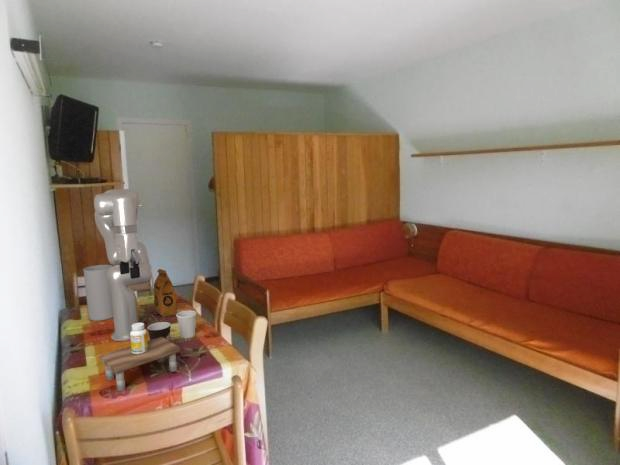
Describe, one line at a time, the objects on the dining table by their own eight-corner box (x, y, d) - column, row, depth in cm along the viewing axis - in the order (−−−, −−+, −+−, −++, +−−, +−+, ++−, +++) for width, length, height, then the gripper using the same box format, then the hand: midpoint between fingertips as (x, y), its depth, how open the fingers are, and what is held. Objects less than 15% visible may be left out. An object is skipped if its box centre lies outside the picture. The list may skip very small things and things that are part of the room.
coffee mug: (159, 356, 157) (157, 331, 156) (144, 351, 162) (142, 327, 160) (183, 345, 167) (181, 321, 165) (169, 341, 171) (167, 318, 170)
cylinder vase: (122, 315, 205) (117, 266, 202) (98, 323, 195) (92, 271, 191) (107, 311, 212) (102, 263, 208) (83, 318, 201) (78, 269, 198)
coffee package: (158, 318, 199) (155, 274, 195) (153, 311, 209) (150, 269, 206) (179, 314, 204) (176, 271, 200) (173, 308, 214) (170, 266, 211)
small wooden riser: (102, 379, 141) (99, 355, 139) (163, 357, 156) (161, 336, 155) (117, 394, 131) (114, 369, 130) (181, 369, 146) (179, 347, 145)
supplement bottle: (136, 355, 139) (133, 328, 137) (128, 351, 142) (126, 325, 141) (151, 350, 143) (149, 324, 141) (143, 346, 146) (141, 320, 145)
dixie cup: (174, 339, 173) (173, 317, 171) (181, 332, 181) (180, 310, 180) (194, 339, 173) (192, 316, 171) (200, 331, 181) (198, 310, 179)
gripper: (106, 229, 152) (111, 274, 155) (124, 233, 140) (128, 281, 143) (127, 226, 157) (131, 270, 160) (146, 230, 145) (150, 277, 148)
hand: (130, 275), depth 151 cm, fingers open, 9 cm apart
